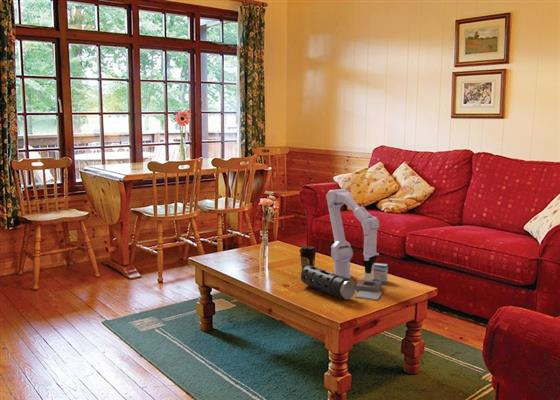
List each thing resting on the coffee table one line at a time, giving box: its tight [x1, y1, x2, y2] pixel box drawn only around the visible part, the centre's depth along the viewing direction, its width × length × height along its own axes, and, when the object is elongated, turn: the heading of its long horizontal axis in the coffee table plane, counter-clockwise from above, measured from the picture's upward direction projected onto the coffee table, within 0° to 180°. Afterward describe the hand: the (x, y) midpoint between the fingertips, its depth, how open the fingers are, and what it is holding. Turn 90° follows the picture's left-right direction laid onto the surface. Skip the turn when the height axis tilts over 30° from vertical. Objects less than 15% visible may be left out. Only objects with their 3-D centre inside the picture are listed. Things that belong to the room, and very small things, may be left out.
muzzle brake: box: [300, 265, 356, 301], centre depth 246 cm, size 10×28×10 cm, turn 36°
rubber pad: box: [354, 290, 383, 301], centre depth 244 cm, size 10×10×1 cm
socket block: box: [355, 279, 383, 292], centre depth 253 cm, size 10×10×2 cm
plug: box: [363, 264, 374, 281], centre depth 252 cm, size 4×4×8 cm
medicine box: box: [372, 262, 389, 284], centre depth 264 cm, size 8×4×9 cm, turn 70°
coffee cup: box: [299, 245, 317, 272], centre depth 279 cm, size 9×8×13 cm
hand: (369, 271), depth 252 cm, fingers closed on plug, 4 cm apart
